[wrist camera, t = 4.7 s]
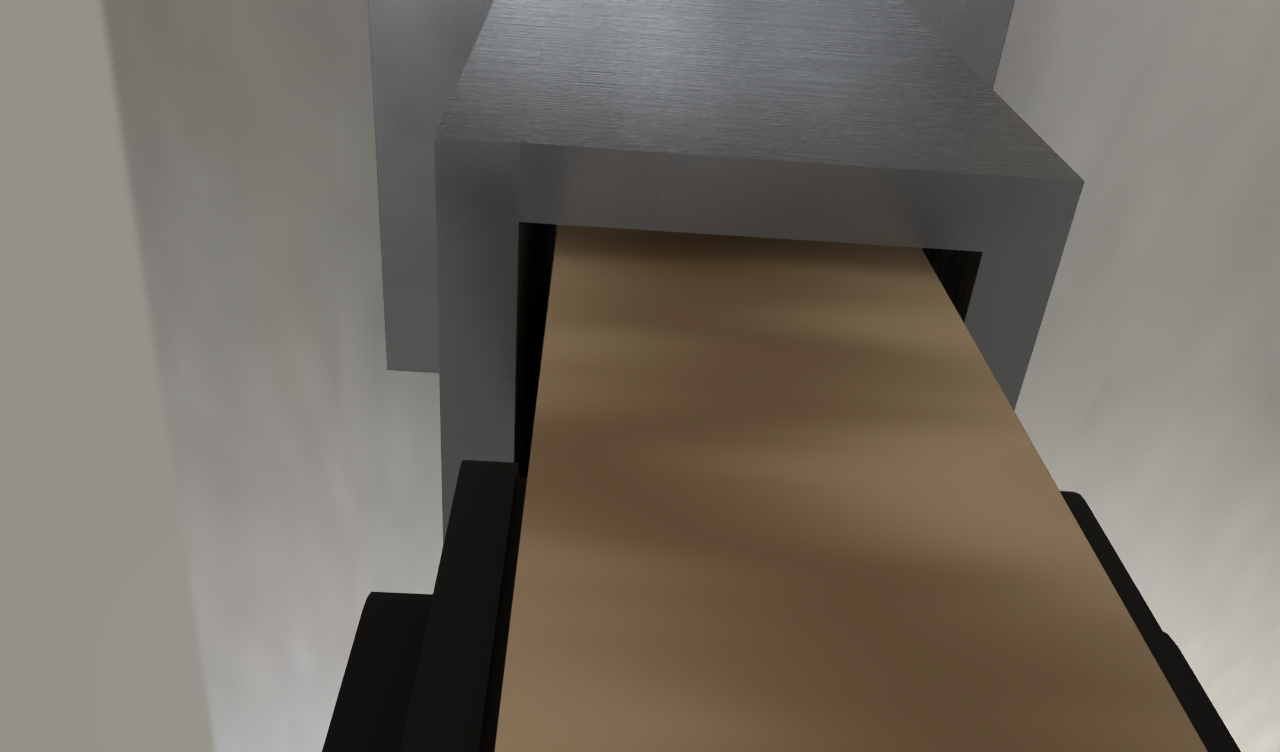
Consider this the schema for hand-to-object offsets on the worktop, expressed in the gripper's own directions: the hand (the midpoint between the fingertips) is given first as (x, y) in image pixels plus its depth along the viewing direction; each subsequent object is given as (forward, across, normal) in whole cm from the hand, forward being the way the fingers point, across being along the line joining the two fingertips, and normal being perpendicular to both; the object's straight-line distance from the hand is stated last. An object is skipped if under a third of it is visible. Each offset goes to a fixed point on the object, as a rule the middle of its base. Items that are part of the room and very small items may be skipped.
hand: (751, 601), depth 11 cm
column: (+13, 0, 0) cm, 13 cm away
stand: (+16, 0, 0) cm, 16 cm away
